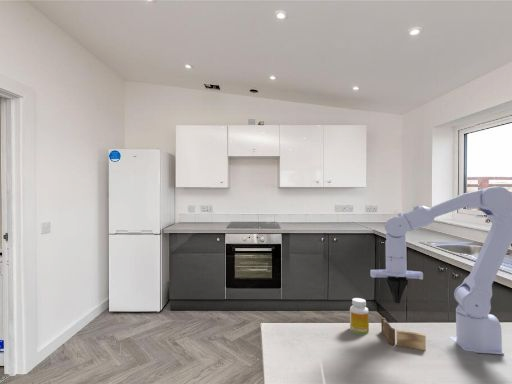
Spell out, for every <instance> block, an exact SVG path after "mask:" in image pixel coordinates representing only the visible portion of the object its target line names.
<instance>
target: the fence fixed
mask: <svg viewBox="0 0 512 384" xmlns="http://www.w3.org/2000/svg"><path fill="white" fill-rule="evenodd" d="M380 320H381V324H380V325H381V333H382V334H383V335H384V337H385V338H386V339H387V341H388V344H389V346H396V329H395V328H393V327H392V326H391V325H390V323H388V321H387V319H386V318H385V317H381V319H380Z"/></svg>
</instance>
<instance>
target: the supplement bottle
mask: <svg viewBox="0 0 512 384" xmlns="http://www.w3.org/2000/svg"><path fill="white" fill-rule="evenodd" d="M351 300H352V301H351V304H352V305H351V306H350V308H349V331H351V332H352V333H354V334H357V335H368V334H369V333H370V329H369V327H370V324H369V323H370V321H369V320H370V319H369V318H370V317H369V316H370V315H369V313H370V312H369V308H368V307H366V306H367V301H366V299H364V298H360V297H354V298H351Z"/></svg>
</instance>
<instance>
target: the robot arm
mask: <svg viewBox="0 0 512 384" xmlns="http://www.w3.org/2000/svg"><path fill="white" fill-rule="evenodd" d="M463 208H477V209H478V210H479V211H481V212H483V214H485V216H486V217H487V219H488V220H489V221H490V222H491V227H490V229H489V230H488V234H486V237H485V240H484V242H483V244H482V246H481V249H480V251H479V252H478V255H477V258H476V260H475V261H474V264H473V266H472V268H471V271H470V273H469V274H468V275H467V276H466V277H465V278H464V279H463V281H462V283H461V284H460V285H458V286H457V287H456V288H455V290H454V292H453V297H454V299H455V301H456V302H457V303H458V304H457V306H456V308H455V317H456V318H455V324H456V326H455V327H456V328H455V329H456V330H455V331H456V332H455V333H456V336H449V339H451V340H452V341H453V342H455V344H457V345H458V346H459V347H461V349H463V350H464V351H466V352H467V351H469V352H474V353H478V354H492V355H494V354H495V355H505V352H504V350H503V342H502V341H503V340H502V339H503V337H502V336H503V335H502V334H503V333H502V326H501V322H500V321H499V319H498V318H497V316H495V315H494V314H491V313H490V312H491V310H492V305H491V300H492V297H493V287H492V286H493V284H494V281H495V278H496V277H497V275H498V273H499V270H500V268H501V266H502V264H503V262H504V260H505V257H506V255H507V252H508V250H509V248H510V246H511V244H512V193H511V192H510V191H509V189H507V188H505V187H503V186H491V187H484V188H479V189H478V190H473V191H469V192H464V193H462V194H458V195H457V196H455V197H452V198H449V199H447V200H444V201H442V202H440V203H438V204H435V205H433V206H431V207H428V206H425V205H421V206H419V205H415V206H413V209H410V210H408V211H405V212H402V213H401V212H399V213H397V216H392V217H389V218H388V219H386V221H385V224H384V230H385V231H386V234H385V239H386V240H385V269H370V272H369V274H370V277H371V278H375V279H376V278H384V279H385V281H386V283H387V286H388V287H389V289H390V293H391V297H392V302H394V303H395V304H401V301H402V300H401V299H402V297H403V293H404V291H405V289H406V288H407V286H408V284H409V280H408V279H411V280H412V279H419V280H424V273H423V272H422V271H419V270H418V271H416V270H415V271H414V270H407V269H408V268H407V265H408V264H407V262H408V261H407V241H406V234H407V232H412V231H415V230H418V229H421V228H424V227H426V226H429V225H432V224H433V223H434V220H435V219H436V218H438V217H441V216H443V215H446V214H448V213H452V212H455V211H458V210H461V209H463Z"/></svg>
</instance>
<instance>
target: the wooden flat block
mask: <svg viewBox="0 0 512 384" xmlns="http://www.w3.org/2000/svg"><path fill="white" fill-rule="evenodd" d="M426 336H427V335H426V334H425V333H419V332H415V331H414V332H412V331H406V330H400V329H396V346H399V347H404V348H411V349H416V350H422V351H426V350H427V349H426V343H427V342H426V339H427V338H426Z"/></svg>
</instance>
